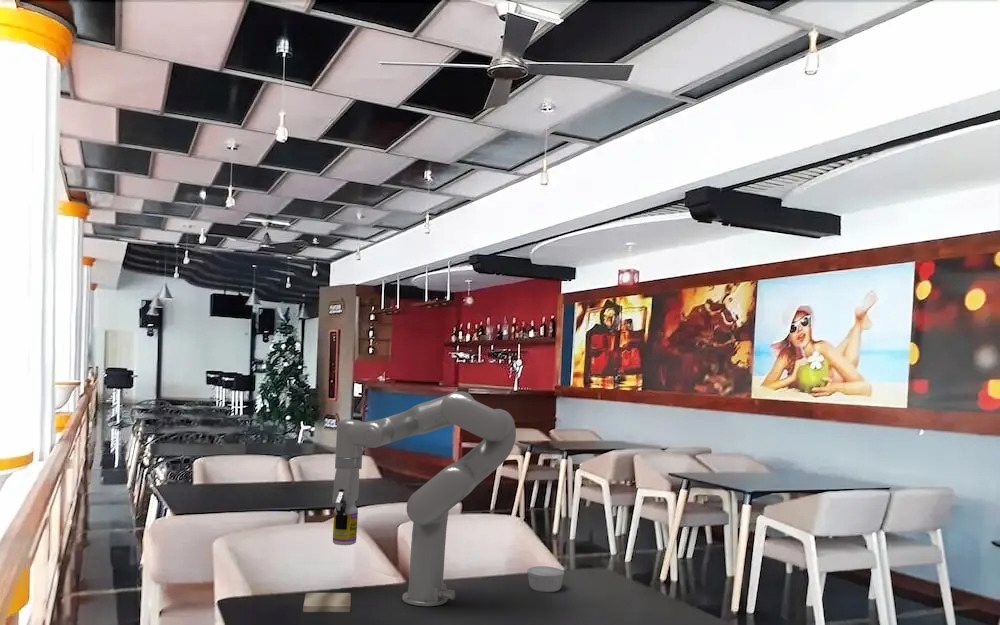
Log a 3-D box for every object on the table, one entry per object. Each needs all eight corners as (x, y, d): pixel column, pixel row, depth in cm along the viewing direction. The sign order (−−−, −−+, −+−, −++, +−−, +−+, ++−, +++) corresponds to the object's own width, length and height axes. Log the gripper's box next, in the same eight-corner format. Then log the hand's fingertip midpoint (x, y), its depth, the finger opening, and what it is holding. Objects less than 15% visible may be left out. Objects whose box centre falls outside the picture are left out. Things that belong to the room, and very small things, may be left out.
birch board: (350, 598, 219) (350, 593, 219) (350, 612, 208) (350, 606, 208) (305, 598, 217) (306, 592, 217) (302, 612, 205) (303, 606, 206)
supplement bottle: (350, 546, 222) (353, 500, 223) (328, 544, 223) (331, 498, 224) (359, 541, 228) (361, 496, 229) (338, 540, 230) (340, 495, 231)
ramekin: (524, 591, 237) (525, 573, 237) (528, 581, 248) (529, 564, 248) (561, 595, 235) (562, 576, 235) (564, 585, 246) (565, 568, 246)
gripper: (345, 459, 237) (342, 520, 235) (325, 466, 219) (321, 531, 218) (370, 460, 236) (367, 522, 234) (351, 467, 218) (348, 533, 217)
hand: (345, 526), depth 226 cm, fingers closed on supplement bottle, 6 cm apart
